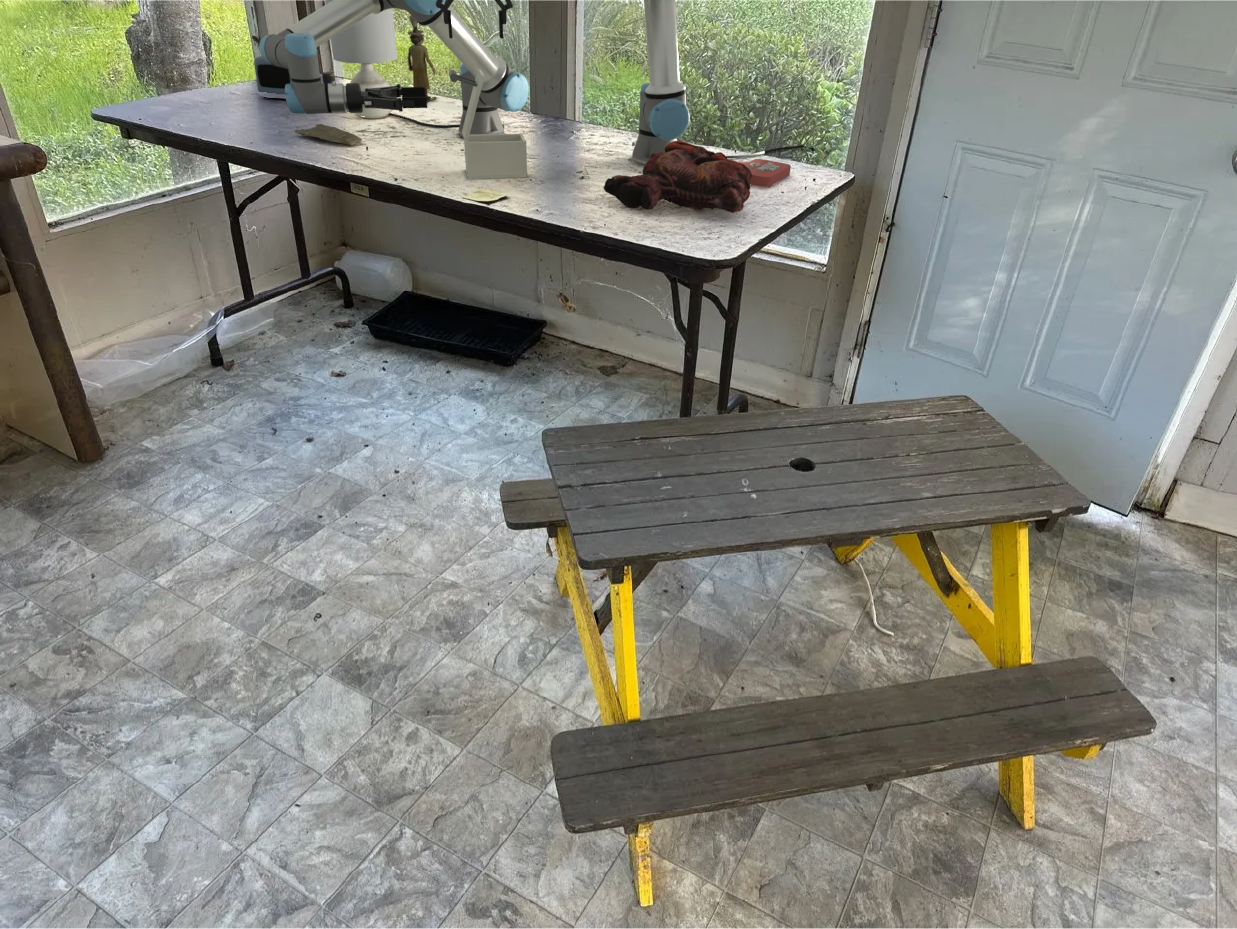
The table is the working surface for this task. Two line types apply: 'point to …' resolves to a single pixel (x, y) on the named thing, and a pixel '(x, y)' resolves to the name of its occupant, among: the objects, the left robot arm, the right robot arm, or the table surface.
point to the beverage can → (328, 77)
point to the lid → (473, 100)
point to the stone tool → (330, 134)
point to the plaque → (767, 172)
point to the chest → (496, 156)
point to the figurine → (419, 59)
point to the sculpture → (685, 180)
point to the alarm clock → (271, 77)
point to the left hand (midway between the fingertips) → (426, 97)
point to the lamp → (368, 52)
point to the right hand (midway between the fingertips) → (476, 37)
